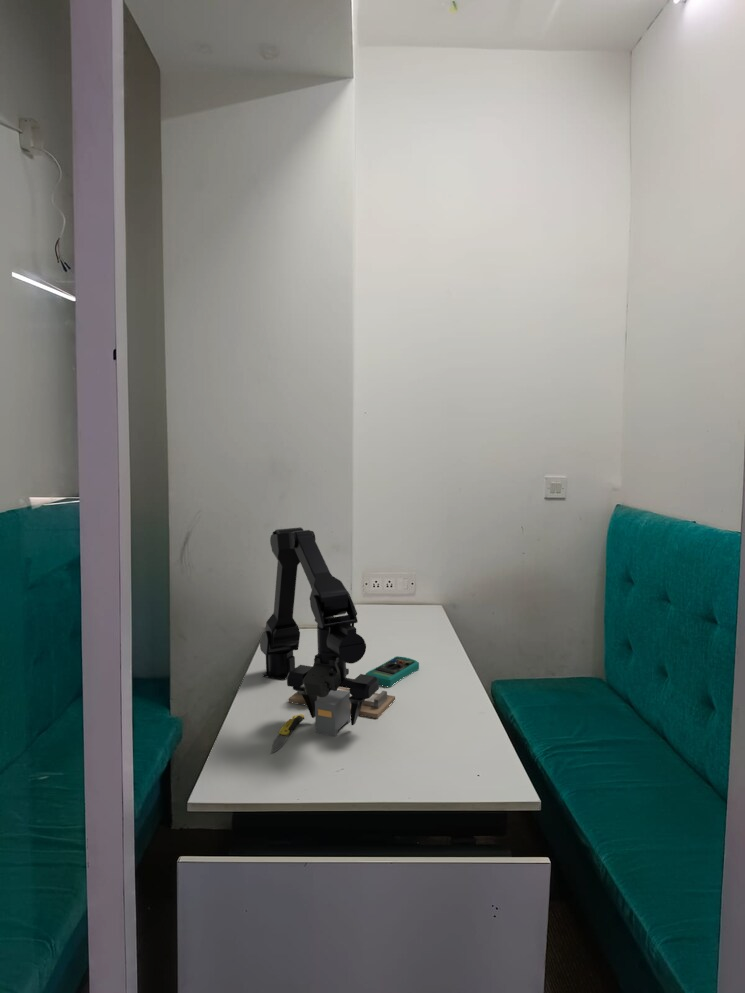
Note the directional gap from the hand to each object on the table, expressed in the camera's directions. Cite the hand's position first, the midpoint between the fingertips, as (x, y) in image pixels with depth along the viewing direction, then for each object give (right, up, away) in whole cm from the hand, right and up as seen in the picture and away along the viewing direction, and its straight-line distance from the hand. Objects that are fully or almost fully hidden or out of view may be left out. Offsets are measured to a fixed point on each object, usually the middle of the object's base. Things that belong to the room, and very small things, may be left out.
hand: (333, 720), depth 135 cm
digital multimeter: (+13, +1, +28) cm, 31 cm away
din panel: (+1, 0, +13) cm, 13 cm away
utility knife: (-9, -3, -3) cm, 10 cm away
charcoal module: (0, -1, 0) cm, 1 cm away
